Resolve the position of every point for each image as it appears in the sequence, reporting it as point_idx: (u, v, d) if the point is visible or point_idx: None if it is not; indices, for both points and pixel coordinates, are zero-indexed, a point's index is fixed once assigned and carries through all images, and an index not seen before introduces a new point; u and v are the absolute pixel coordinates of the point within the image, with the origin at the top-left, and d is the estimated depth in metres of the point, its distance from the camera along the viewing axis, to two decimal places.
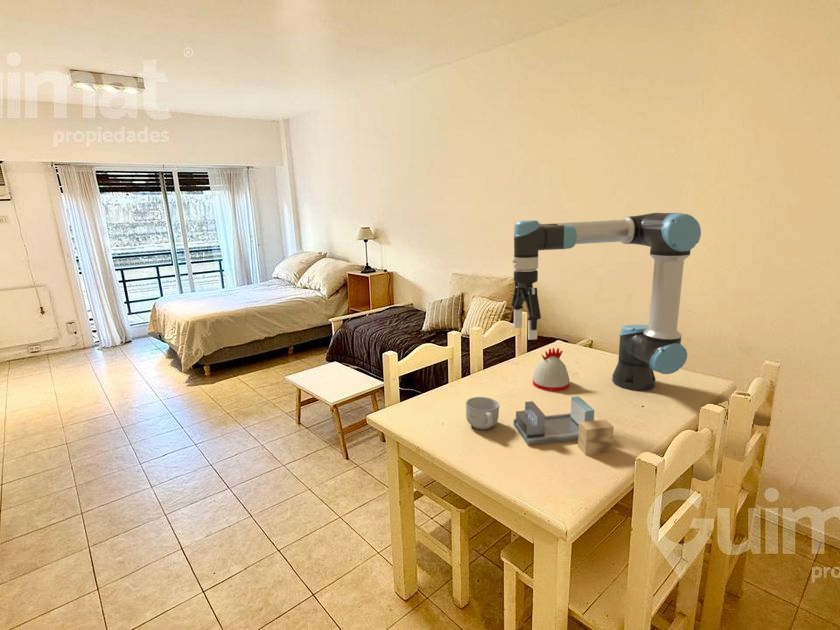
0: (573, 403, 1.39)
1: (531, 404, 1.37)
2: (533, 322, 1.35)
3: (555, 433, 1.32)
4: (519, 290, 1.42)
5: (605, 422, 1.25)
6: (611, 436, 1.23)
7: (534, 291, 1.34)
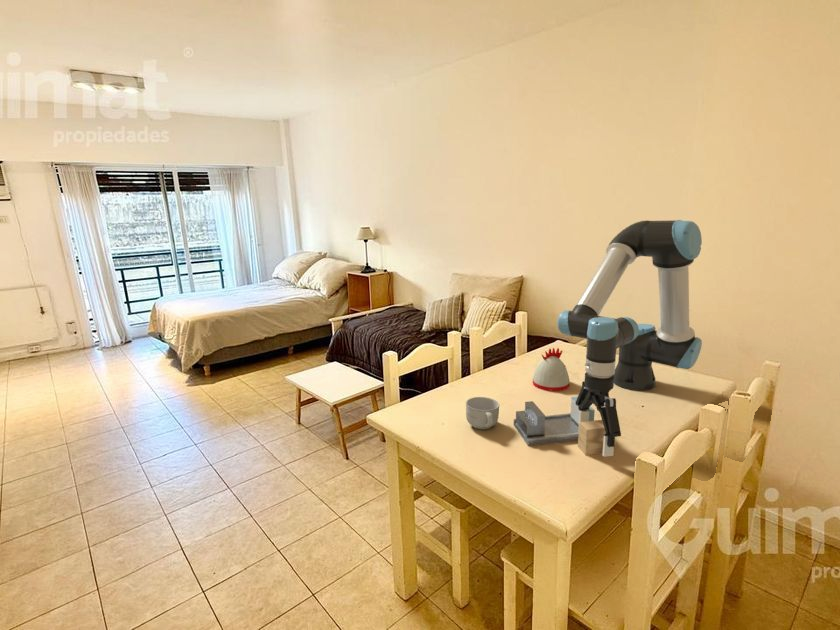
0: (573, 403, 1.39)
1: (531, 404, 1.37)
2: (611, 438, 1.16)
3: (555, 433, 1.32)
4: (590, 395, 1.22)
5: None
6: None
7: (612, 403, 1.15)
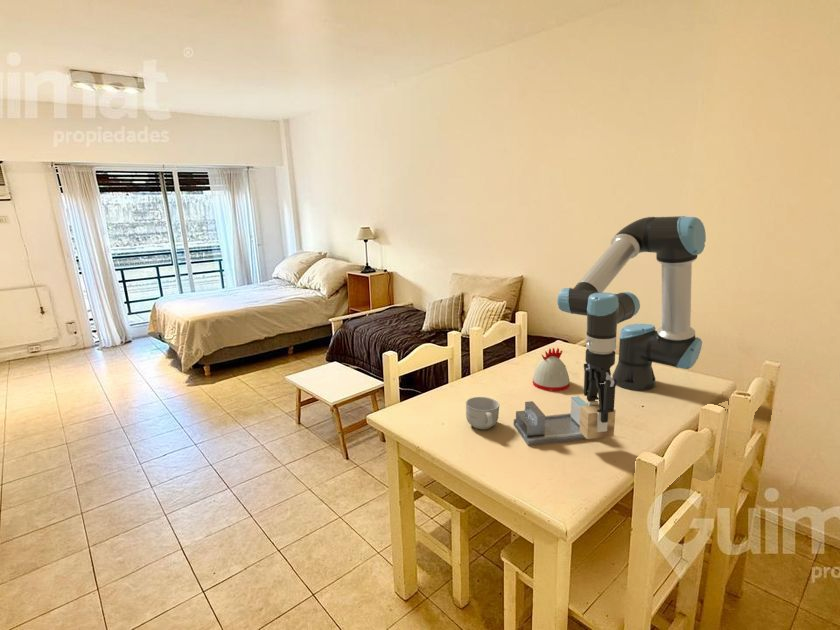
0: (573, 403, 1.39)
1: (531, 404, 1.37)
2: (604, 414, 1.19)
3: (555, 433, 1.32)
4: (592, 371, 1.21)
5: None
6: (613, 420, 1.22)
7: (613, 384, 1.14)
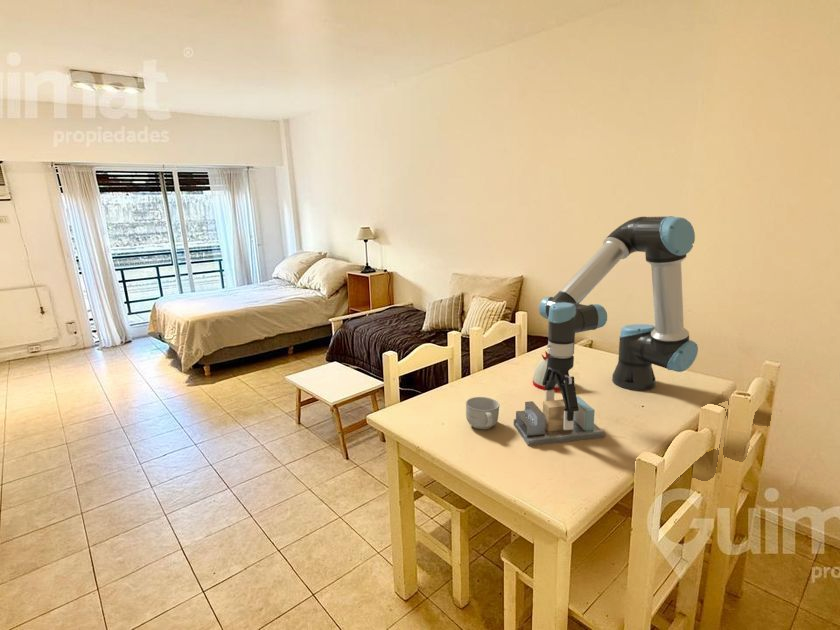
0: None
1: (531, 404, 1.37)
2: (570, 413, 1.26)
3: (555, 433, 1.32)
4: (553, 374, 1.33)
5: None
6: None
7: (571, 380, 1.26)
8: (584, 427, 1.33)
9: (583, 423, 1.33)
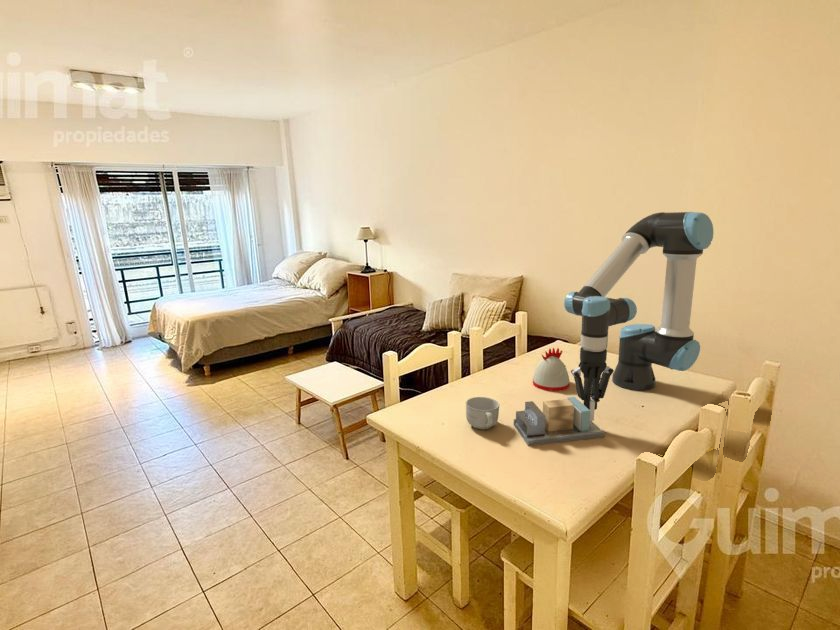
0: None
1: (531, 404, 1.37)
2: (584, 401, 1.36)
3: (555, 433, 1.32)
4: None
5: (567, 401, 1.35)
6: (572, 414, 1.34)
7: (574, 375, 1.33)
8: (580, 427, 1.32)
9: (579, 423, 1.33)
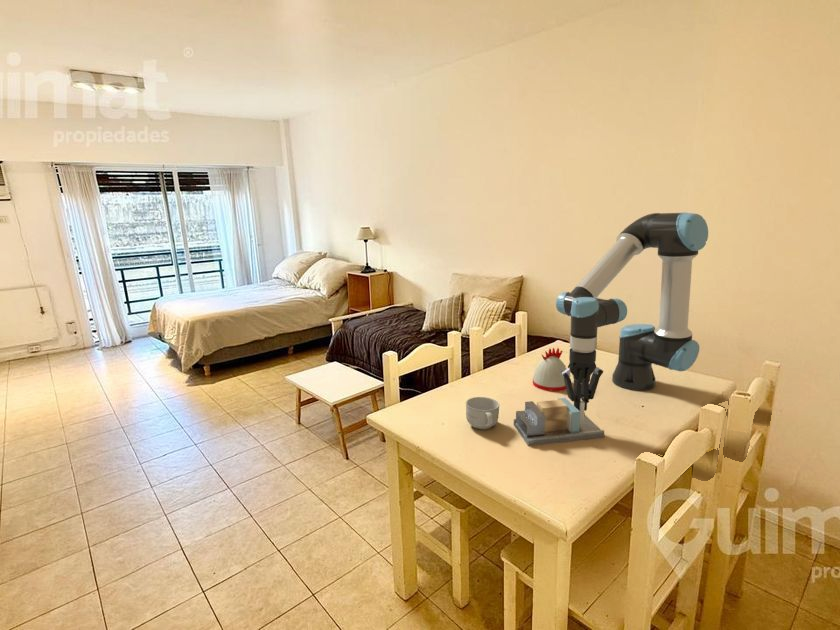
0: None
1: (531, 404, 1.37)
2: (574, 402, 1.36)
3: (555, 433, 1.32)
4: None
5: (560, 402, 1.35)
6: (565, 414, 1.33)
7: (563, 376, 1.32)
8: (570, 429, 1.32)
9: (569, 425, 1.32)
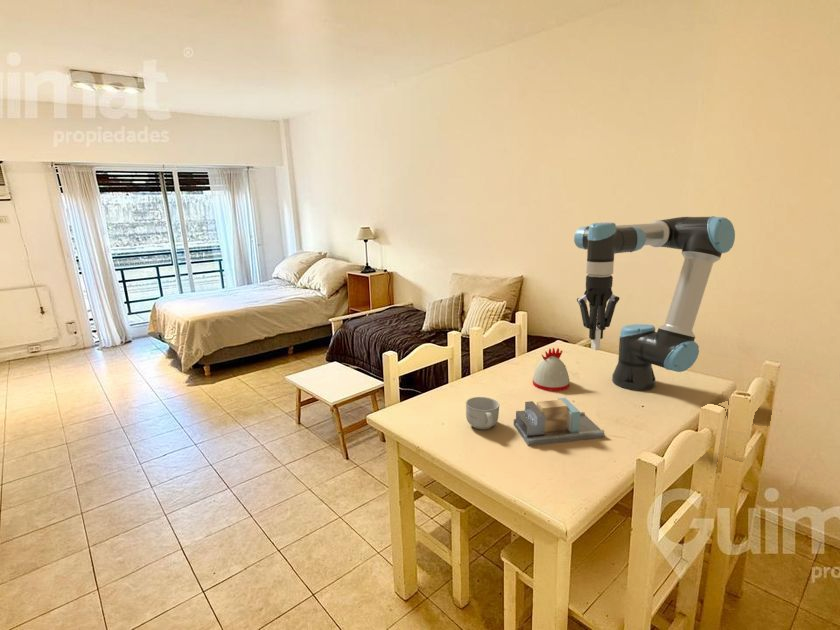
0: None
1: (531, 404, 1.37)
2: (589, 331, 1.36)
3: (555, 433, 1.32)
4: None
5: (560, 402, 1.35)
6: (565, 414, 1.33)
7: (580, 303, 1.33)
8: (570, 429, 1.32)
9: (569, 425, 1.32)
